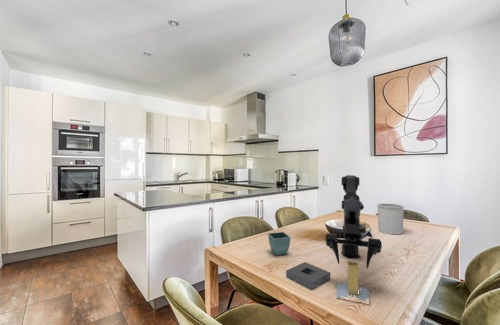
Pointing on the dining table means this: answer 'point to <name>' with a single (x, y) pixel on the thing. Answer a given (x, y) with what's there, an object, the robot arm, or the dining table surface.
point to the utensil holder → (390, 218)
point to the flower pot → (279, 242)
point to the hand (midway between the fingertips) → (352, 265)
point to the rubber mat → (343, 291)
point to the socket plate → (312, 279)
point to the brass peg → (353, 278)
